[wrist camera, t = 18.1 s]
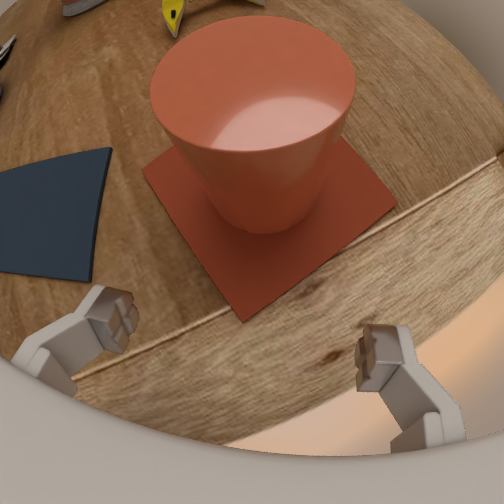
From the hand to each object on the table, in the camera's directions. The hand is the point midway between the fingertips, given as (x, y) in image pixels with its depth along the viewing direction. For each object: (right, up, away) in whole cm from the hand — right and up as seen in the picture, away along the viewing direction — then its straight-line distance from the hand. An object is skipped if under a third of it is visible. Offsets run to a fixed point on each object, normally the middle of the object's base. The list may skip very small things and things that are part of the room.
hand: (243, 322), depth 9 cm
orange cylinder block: (+1, +7, +8) cm, 10 cm away
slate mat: (-25, +6, +10) cm, 28 cm away
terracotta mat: (+1, +7, +8) cm, 11 cm away
